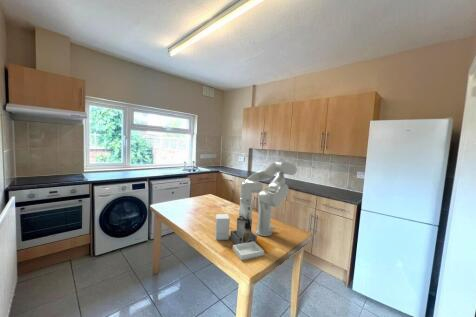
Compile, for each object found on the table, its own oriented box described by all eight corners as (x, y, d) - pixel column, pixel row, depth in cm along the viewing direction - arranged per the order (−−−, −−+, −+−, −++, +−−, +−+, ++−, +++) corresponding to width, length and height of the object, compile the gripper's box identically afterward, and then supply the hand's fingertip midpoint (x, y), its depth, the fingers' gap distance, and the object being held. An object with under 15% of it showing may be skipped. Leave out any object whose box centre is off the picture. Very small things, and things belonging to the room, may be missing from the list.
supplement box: (227, 233, 142) (228, 213, 141) (228, 240, 133) (230, 218, 132) (214, 234, 140) (215, 213, 139) (215, 240, 131) (216, 218, 130)
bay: (247, 235, 142) (248, 228, 141) (256, 243, 131) (256, 235, 130) (230, 238, 136) (230, 231, 135) (237, 246, 125) (237, 239, 124)
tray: (253, 245, 127) (254, 241, 127) (263, 255, 116) (264, 250, 116) (232, 249, 121) (232, 245, 120) (241, 260, 110) (241, 255, 110)
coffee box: (243, 237, 138) (245, 214, 137) (251, 240, 134) (252, 217, 133) (235, 241, 131) (236, 218, 130) (242, 245, 127) (244, 220, 126)
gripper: (257, 203, 125) (255, 230, 126) (244, 196, 140) (243, 220, 141) (246, 204, 121) (245, 231, 123) (235, 197, 137) (233, 221, 138)
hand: (244, 225), depth 132 cm, fingers closed on coffee box, 8 cm apart
